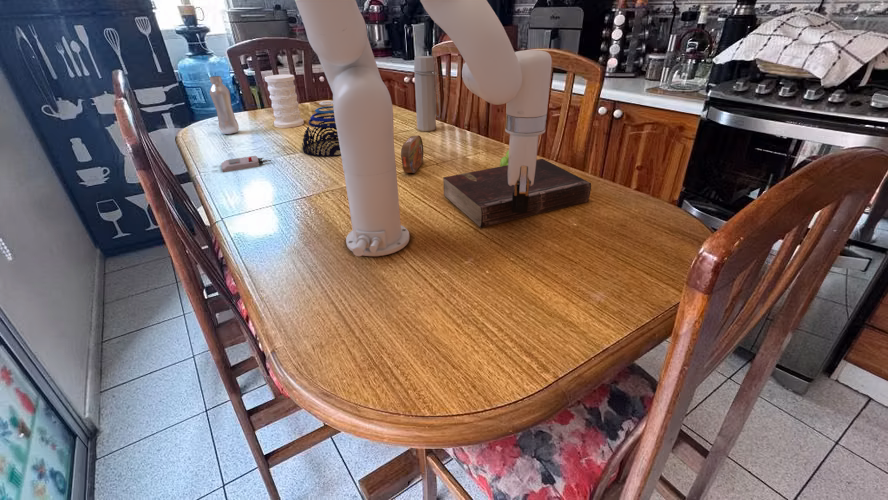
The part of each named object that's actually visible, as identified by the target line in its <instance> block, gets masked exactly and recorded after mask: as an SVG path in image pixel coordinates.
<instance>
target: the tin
mask: <svg viewBox="0 0 888 500" xmlns="http://www.w3.org/2000/svg"><path fill="white" fill-rule="evenodd" d="M423 142H424V141H423V139H422V137H421V135H411V136H409V138H408V139H407V140H406V141H405V142H404V143H403V144H402V146H401V148H400V149H401V150H400V158H401V164H402V170H403V172H404V173H406V174H415V173H416V172H417V171H418V169H420V167H421V166H422V164H423V162H424V161H423V160H424V143H423Z"/></svg>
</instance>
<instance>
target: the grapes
mask: <svg viewBox="0 0 888 500" xmlns="http://www.w3.org/2000/svg"><path fill="white" fill-rule="evenodd" d="M508 157H509V149H508V150H507V151H506V153H505V156H502V157H501V158H500V161H499V167H501V166H506V165H508Z"/></svg>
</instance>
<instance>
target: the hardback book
mask: <svg viewBox="0 0 888 500" xmlns="http://www.w3.org/2000/svg"><path fill="white" fill-rule="evenodd" d="M442 179H443V180H442V181H443V196H444V197H445V198H446V199H447V200H448V201H450V202H451V203H452V204H453V205H454V206H455V207H456V208H458V209H459V210H460V211H461V212H462V213H463V214H464V215H466V217H468V218H469V219H470V220H471V221H472V222H473V223H474V224H475V225H477V226H478V227H480V228H485V227H490V226H494V225H498V224H501V223H505V222H506V223H507V222H510V221H513V220H518V219H522V218H525V217H531V216H534V215H535V216H536V215H539V214H542V213H547V212H551V211H555V210H559V209H563V208H566V207H571V206H575V205H579V204H584V203H588V202H589V200H590V197H591V192H592V191H591V190H592V183H591V182H589V181H588V180H586V179H584V178H582V177H580V176H578V175H576V174H574V173H572V172H570V171H568V170H566V169H564V168H562V167H560V166H558V165H556V164H554V163H553V162H550V161H549V160H547V159H544V158H539V159H537V160H536V169H535V176H534V183H533V185H532V186H530V185H529V189H528V194H529V198H528V210H527V213H513V212H512V195H513V192H514V185H512V186H510V185H509V184H508V165H506V166H501V167H500V166H496V167H491V168H486V169H479V170H475V171H469V172H465V173H464V172H463V173H459V174H454V175H448V176H444V177H443V178H442Z"/></svg>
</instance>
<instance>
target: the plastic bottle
mask: <svg viewBox="0 0 888 500" xmlns="http://www.w3.org/2000/svg"><path fill="white" fill-rule="evenodd" d="M208 78H209V82H210V84H211V86H210V88H209V96H210V98H211V100H212V102H213V105H214V108H215V110H216V115H217V120H218V128H219V130H220V133H222V134H224V135H226V134H227V135H232V134H235V133H237V132H239V129H240V126H239V122H238V121H237V119H236V116H235V113H234V110H233V106H232V105H233V104H232V99H231V92H230V90H229V88H228V87H227V86H226V85H225V84H224V83H223V80H222V76H221V75H214V76H209V77H208Z"/></svg>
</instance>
